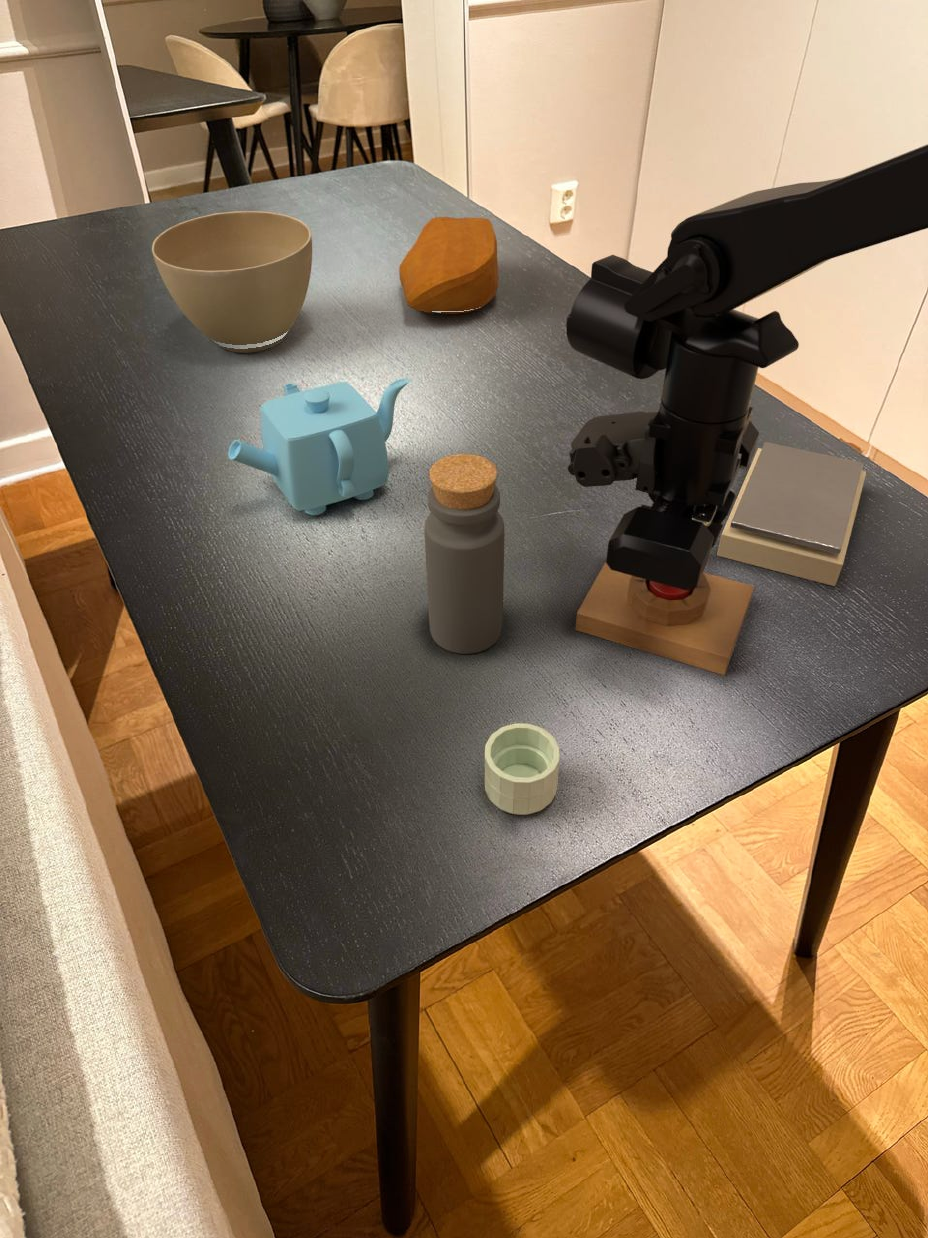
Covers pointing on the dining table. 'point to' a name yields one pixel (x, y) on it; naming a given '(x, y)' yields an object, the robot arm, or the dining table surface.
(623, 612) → the block
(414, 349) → the dining table surface
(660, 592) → the tare button
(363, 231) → the dining table surface
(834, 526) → the pan
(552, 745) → the mint green cup
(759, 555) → the scale
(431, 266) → the bread
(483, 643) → the bottle
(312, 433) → the teapot
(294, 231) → the deep tan bowl
